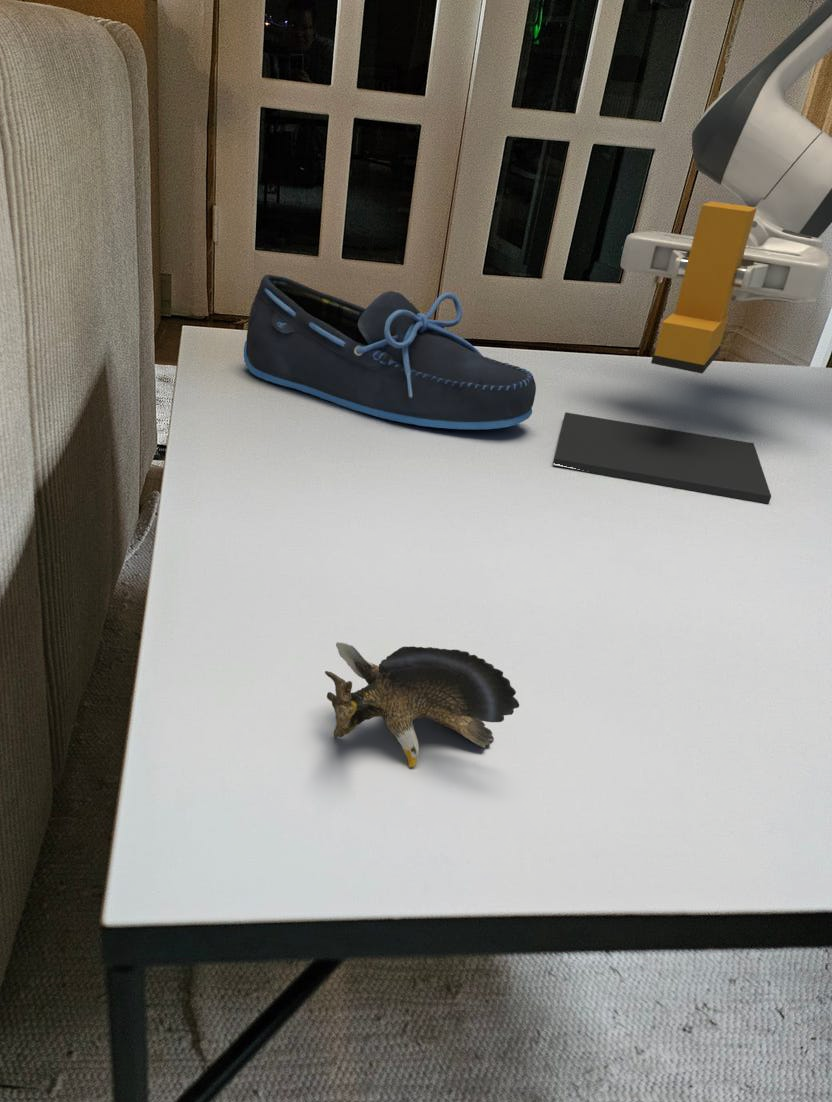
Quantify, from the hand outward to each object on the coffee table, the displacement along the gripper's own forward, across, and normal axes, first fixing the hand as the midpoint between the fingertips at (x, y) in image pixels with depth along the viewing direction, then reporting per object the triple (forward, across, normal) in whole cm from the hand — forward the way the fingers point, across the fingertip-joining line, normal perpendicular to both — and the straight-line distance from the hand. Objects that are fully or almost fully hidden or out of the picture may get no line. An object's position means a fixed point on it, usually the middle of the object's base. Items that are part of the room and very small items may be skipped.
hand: (711, 273), depth 92 cm
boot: (+1, 0, +8) cm, 8 cm away
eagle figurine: (+65, -1, +17) cm, 67 cm away
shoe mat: (+7, 0, +17) cm, 18 cm away
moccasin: (+9, -30, +17) cm, 35 cm away
